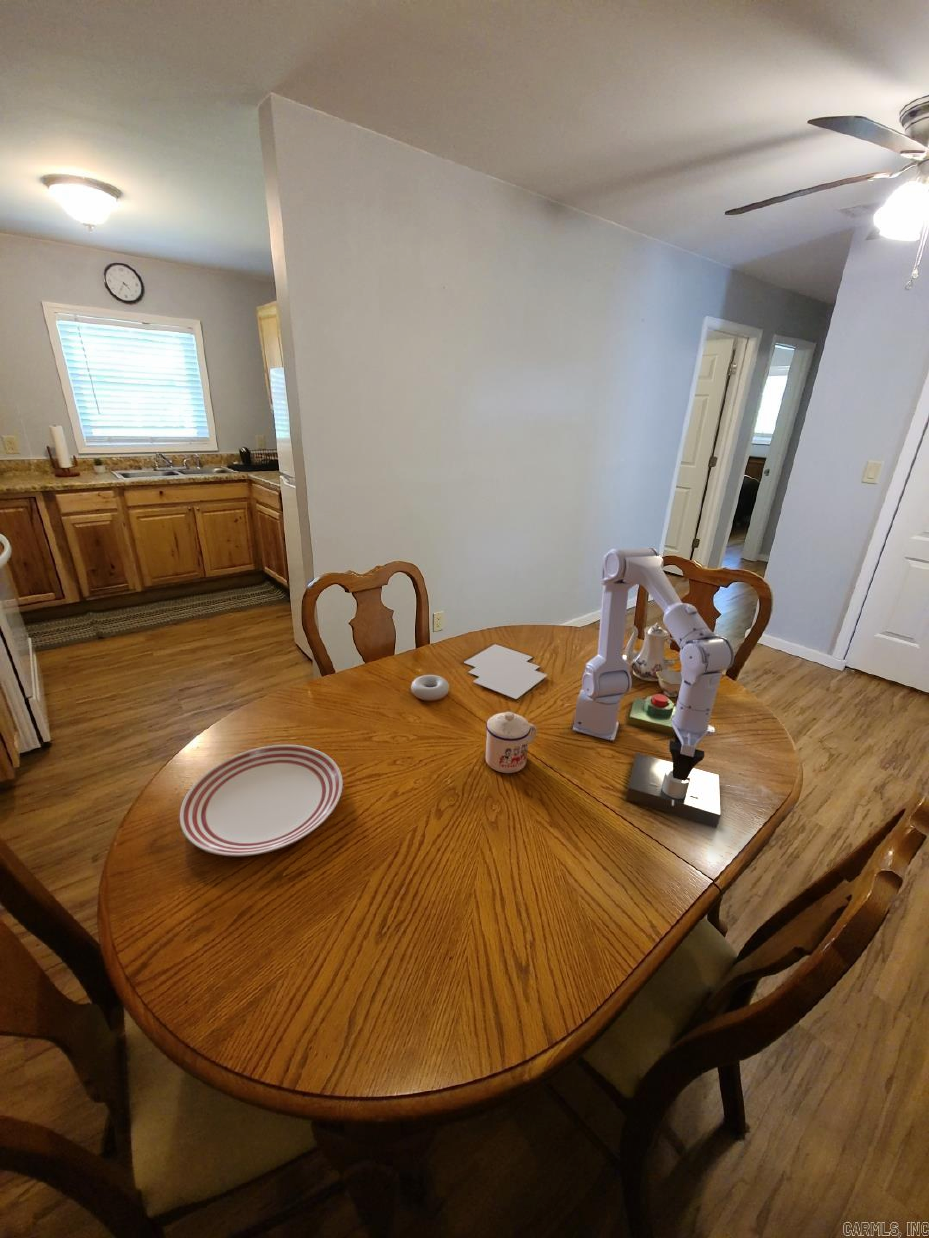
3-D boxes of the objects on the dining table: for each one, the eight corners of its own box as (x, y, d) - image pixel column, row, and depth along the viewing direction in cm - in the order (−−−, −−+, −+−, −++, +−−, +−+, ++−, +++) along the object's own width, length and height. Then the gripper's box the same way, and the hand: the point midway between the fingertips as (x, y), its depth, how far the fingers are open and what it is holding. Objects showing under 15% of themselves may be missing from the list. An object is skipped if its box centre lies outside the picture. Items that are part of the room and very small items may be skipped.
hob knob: (660, 794, 94) (664, 777, 92) (662, 780, 97) (666, 763, 96) (686, 801, 92) (690, 784, 90) (686, 786, 96) (690, 770, 94)
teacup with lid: (499, 780, 100) (503, 731, 96) (476, 754, 107) (478, 708, 103) (546, 762, 106) (552, 715, 101) (521, 739, 113) (525, 694, 109)
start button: (650, 705, 122) (652, 699, 121) (652, 698, 125) (653, 692, 124) (666, 709, 120) (667, 702, 120) (667, 701, 123) (668, 695, 123)
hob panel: (624, 804, 95) (627, 791, 94) (633, 763, 106) (635, 751, 105) (717, 833, 89) (721, 819, 88) (715, 786, 100) (719, 774, 99)
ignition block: (628, 724, 120) (630, 709, 119) (633, 703, 129) (635, 690, 127) (681, 737, 116) (684, 723, 114) (683, 715, 124) (686, 701, 123)
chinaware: (585, 678, 144) (590, 627, 136) (606, 653, 156) (612, 605, 148) (688, 711, 129) (700, 656, 122) (702, 680, 141) (714, 628, 134)
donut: (434, 707, 124) (456, 690, 132) (434, 696, 123) (456, 679, 131) (403, 695, 129) (426, 679, 137) (402, 684, 128) (426, 668, 136)
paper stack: (445, 672, 141) (445, 670, 140) (494, 644, 159) (495, 642, 159) (516, 701, 128) (516, 699, 128) (561, 666, 146) (561, 664, 146)
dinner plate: (338, 857, 82) (337, 841, 80) (156, 876, 77) (151, 860, 76) (347, 752, 107) (346, 739, 105) (209, 762, 102) (207, 749, 101)
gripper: (721, 730, 80) (703, 797, 85) (719, 688, 92) (703, 749, 97) (674, 718, 82) (659, 784, 87) (678, 680, 95) (665, 740, 100)
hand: (680, 765), depth 92 cm, fingers open, 7 cm apart
